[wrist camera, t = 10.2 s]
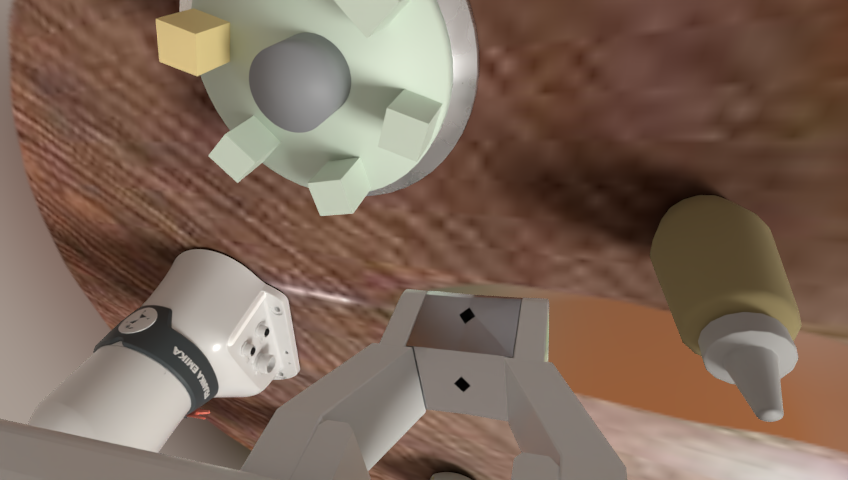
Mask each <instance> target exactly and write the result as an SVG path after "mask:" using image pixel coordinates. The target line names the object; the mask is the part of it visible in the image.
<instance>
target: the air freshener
mask: <svg viewBox="0 0 848 480" xmlns="http://www.w3.org/2000/svg"><path fill="white" fill-rule="evenodd" d="M430 480H471V479H470V478H468V477H466V476H464V475H461V474H458V473H453V472H440V473H436V474H433V475H432V477H431V479H430Z"/></svg>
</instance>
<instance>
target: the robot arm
mask: <svg viewBox="0 0 848 480" xmlns="http://www.w3.org/2000/svg"><path fill="white" fill-rule="evenodd" d="M548 340H549V300H548V299H540V298H514V297H499V296H484V295H469V294H459V293H448V292H438V291H422V290H412V289H407V290H405V291H404V292H403V293H402V295H401V297H400V299H399V301H398V304H397V306H396V308H395V310H394V312H393V315H392V317H391V319H390V321H389V323H388V325H387V328H386V330H385V332H384V334H383V336H382V339H381V341H380V343H379V344H376V343H372V344H371V345H369V346H368V347H366V348H365V349H363V350H362V351H360V352H359V353H358V354H356V355H355V356H353V357H352V358H350V359H349V360H347V361H346V362H345V363H343V364H342V365H340V366H339V367H337V368H336V369H334V370H333V371H331V372H330V373H329V374H327V375H326V376H324V377H323V378H321V379H320V380H318V381H317V382H316V383H314V384H313V385H311V386H310V387H308V388H307V389H305V390H304V391H302V392H301V393H300V394H298V395H297V396H295V397H294V398H292V399H291V400H289V401H288V402H287V403H285V404H284V405H282V406H281V407H279V408H278V409H277V410H276V412H275V413H274V415H273V417H272V418H271V420H270V422H269V423H268V425H267V426H266V428H265V430H264V431H263V433H262V435H261V436H260V438H259V440H258V441H257V443H256V445H255V446H254V448H253V450H252V451H251V453H250V455H249V456H248V458H247V460H246V462H245V463H244V465H243V466H242V468H241V470H235V469H230V468H226V467H221V466H216V465H212V464H207V463H202V462H198V461H193V460H188V459H183V458H179V457H174V456H170V455H165V454H161V453H158V452H159V451H160V449H161V448H162V446H163V445H164V443H165V442H166V441H167V439H168V438H169V437H170V435H171V434H172V432H173V431H174V430H175V428H176V427H177V426H178V424H179V423H180V422H181V420H182V419H183V418H187V417H194V418H199V419H206V418H205V417H203V416H199V415H198V414H208V413H210V411H209V410H205V409H199V407H201V406H202V405H204V404H205V403H206V402H208V401H209V400H211V399H212V398H213V397H249V396H253V395H256V394H258V393H260V392H262V391H263V390H264V389H265V388H266V387H267V386H268V385H269V384H270V382H271V381H272V380H279V379H287V378H291V377H294V376H296V375H297V373H298V372H299V371H300V366H299V360H298V354H297V348H296V342H295V336H294V331H293V325H292V319H291V313H290V308H289V302H288V299H287V297H286V296H285V295H284V294H283V293H281V292H280V291H278V290H276V289H275V288H273V287H271V286H269V285H267V284H265V283H264V282H262V281H261V280H260V279H259V278H258V277H257V276H256V275H254V274H253V273H252V272H251V271H250V270H249V269H247V268H246V267H245V266H243V265H242V264H240V263H239V262H237V261H235V260H233V259H232V258H230V257H228V256H225V255H223V254H220V253H217V252H214V251H210V250H204V249H193V250H188V251H185V252H183V253H181V254H180V255H178V256H177V258H176V259H175V261H174V263H173V264H172V266H171V268H170V270H169V271H168V273H167V274H166V276H165V277H164V279H163V280H162V282H161V283H160V284H159V286H158V287H157V288H156V289H155V291H154V292H153V293H152V294H151V296H150V297H149V298H148V299H147V300H146V302H145V303H144V304H143V305H142V306H141V307H140V308H138V309H137V310H135V311H134V312H133V313H131V314H130V315H129V316H127V317H126V318H125V319H124V320H122V321H121V322H120V323H119V324H118V325H117V326H116V327H115V328H114V329H113V330H111V331H110V332H109V333H108V334H107V335H106V336H105V337H104V338H103V339H102V340H101V341H100V342H99V343H98V344H97V345H96V346H95V349H94V354H93V355H92V356H90V357H89V358H88V359H87V360H86V361H85V362H84V363H83V364H82V365H81V366H79V367H78V368H77V369H76V370H75V371H74V372H73V373H72V374H71V375H70V376H69V377H68V378H66V379H65V381H63V382H62V383H61V384H60V385H59V386H58V387H57V388H56V389H55V390H53V392H51V393H50V394H49V395H48V396H47V397H46V398H45V399H44V400H43V401H42V402H41V403H40V404H39V405H38V406H37V407H36V409H35V410H34V412H33V414H32V416H31V418H30V420H29V423H28V425H26V424H22V423H17V422H12V421H8V420H3V419H0V480H371V479H370V476H369V473H368V471H369V470H370V469H371V468H372V467H373V466H374V465H375V464H376V463H377V462H378V461H379V460H380V459H381V458H382V457H383V455H384V454H385V453H386V452H387V451H388V450H389V449H390V448H391V447H392V446H393V445H394V444H395V443H396V442H397V441H398V440H399V439H400V438H401V437H402V436H403V435H404V434H405V433H406V432H407V431H408V430H409V429H410V428H411V427H412V426H413V425H414V424H415V423H416V422H417V420H418V419H419V418H420V417H421V416H422V415H423V414H424V413H425V412H426V409H428V410H436V411H445V412H453V413H461V414H469V415H474V416H480V417H486V418H491V419H497V420H503V421H508V422H509V426H510V428H511V430H512V432H513V434H514V437H515V439H516V441H517V443H518V445H519V448H520V450H521V452H522V453H521V454H520V455H518V456H517V457H515V458H514V463H513V470H512V478H511V480H627V472H626V467H625V465H624V464H623V462H622V461H621V460H620V458H619V457H618V455H617V454H616V452H615V451H614V450H613V448H612V447H611V445H610V444H609V443H608V441H607V440H606V438H605V437H604V435H603V434H602V433H601V431H600V430H599V428H598V427H597V425H596V424H595V423H594V421H593V420H592V418H591V417H590V416H589V414H588V413H587V411H586V410H585V408H584V407H583V406H582V404H581V403H580V401H579V400H578V399H577V397H576V396H575V394H574V393H573V391H572V390H571V389H570V387H569V386H568V384H567V383H566V382H565V380H564V379H563V377H562V376H561V374H560V373H559V372H558V370H557V369H556V367H555V366H554V364H553V363H551V362H548V343H549V341H548Z"/></svg>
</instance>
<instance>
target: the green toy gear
mask: <svg viewBox="0 0 848 480" xmlns="http://www.w3.org/2000/svg"><path fill="white" fill-rule="evenodd" d="M156 29H157V40H158V51H159V62H162V63H164V64H167V65H169V66H172V67H174V68H177V69H180V70H182V71H185V72H187V73H190V74H192V75H195V76H199V75H201V79H202V81H203V84H204V86H205V88H206V91H207V93H208V95H209V97H210V99H211V101H212V103H213V105H214V107H215V108H216V110H217V112H218V114H219V115H220V117H221V118H222V120H223V121H224V123H225V124H226V126H227V127H228V128H229V129H230V131H229V132H228V133H226V134H225V135H224V136H223V138H222V139H221V140H220V142H219V143H218V144H217V145H216V147H215V148H214V149H213V151H212V152H211V153H210V154H209V157H210V158H211V159H212V160H213V161H214V162H215V163H217V164H218V165H219V166H220V167H221V168H222V169H223V170H224V171H225V172H226V173H227V174H228V175H230V176H231V177H232V178H233V179H234V180H235V181H236V182H237V183H238V182H239V181H240V180H242V179H243V178H244V177H245V176H247V175H248V174H249V173H250V172H251V171H253V170H254V169H255V168H256V167H258V166H259V165H260V164H261V163H263V164H265V165H266V166H268V167H269V168H270V169H272V170H273V171H275V172H276V173H278V174H280V175H281V176H283V177H285V178H287V179H289V180H291V181H293V182H295V183H297V184H300V185H302V186H305V187H308V188H309V189H310V192H311V194H312V197H313V199H314V201H315V204H316V206H317V209H318V211H319V214H320V216H327V215H339V214H352V213H354V212H355V210H356V209H357V207H358V206H359V205H360V203H361V202H362V201H363V199H364V198H365V196H366V195H367V194H368V192H370V191H373V190H376V189H379V188H383V187H385V186H387V185H389V184H391V183H393V182H395V181H397V180H398V179H400V178H401V177H403V176H404V175H406V174H407V173H408V172H409V171H410V170H411V169H412V168H414V167H415V166H416V165H417V164H418V163H419V161H420V160H421V159H422V158H423V156H424V155H425V154H426V153H427V151H428V149H429V148H430V146H431V144H432V143H433V141H434V139H435V138H436V136H437V134H438V133H439V131H440V129H441V127H442V125H443V122H444V120H445V117H446V115H447V112H448V108H449V104H450V100H451V95H452V86H453V57H452V49H451V42H450V38H449V34H448V30H447V26H446V22H445V19H444V17H443V14H442V12H441V9H440V7H439V4H438V2H437V0H192V7H191V9H189V10H185V11H182V12H178V13H174V14H171V15H167V16H163V17H160V18H156Z"/></svg>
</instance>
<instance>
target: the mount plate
mask: <svg viewBox="0 0 848 480" xmlns="http://www.w3.org/2000/svg"><path fill="white" fill-rule="evenodd" d="M437 2H438V4H439V7H440V9H441V12H442V14H443V17H444V19H445V22H446V26H447V30H448V34H449V38H450V42H451V49H452V57H453V86H452V95H451V100H450V104H449V108H448V112H447V115H446V117H445V120H444V122H443V125H442V127H441V129H440V131H439V133H438V134H437V136H436V138H435V139H434V141H433V143H432V144H431V146H430V148H429V149H428V151H427V153H426V154H425V155H424V156H423V158H422V159H421V160H420V161H419V163H418V164H417V165H416V166H415V167H414V168H412V169H411V170H410V171H409V172H408V173H407V174H406V175H404V176H403V177H401V178H400V179H398V180H397V181H395V182H393V183H391V184H389V185H387V186H385V187H383V188H379V189H376V190H373V191H370V192H368V194H367V195H366V196H369V195H379V194H385V193H390V192H393V191H396V190H399V189H402V188H405V187H407V186H409V185H411V184H413V183H415V182H417V181H419V180H421V179H422V178H423V177H425V176H426V175H428V174H429V173H431V172H432V171H433V170H434V169H435V168H436V167H437V166H438V165H439V164H440V163H441V162H443V161H444V159H445V158H446V157H447V156H448V154H449V153H450V152H451V150H452V149H453V148H454V146H455V145H456V143H457V141H458V139H459V138H460V136H461V134H462V133H463V131H464V129H465V127H466V124H467V122H468V119H469V117H470V114H471V112H472V109H473V105H474V101H475V97H476V93H477V87H478V78H479V44H478V37H477V29H476V24H475V20H474V16H473V13H472V9H471V5H470V2H469V0H437ZM191 7H192V0H180V8H179V12H182V11H185V10H189V9H191Z"/></svg>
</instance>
